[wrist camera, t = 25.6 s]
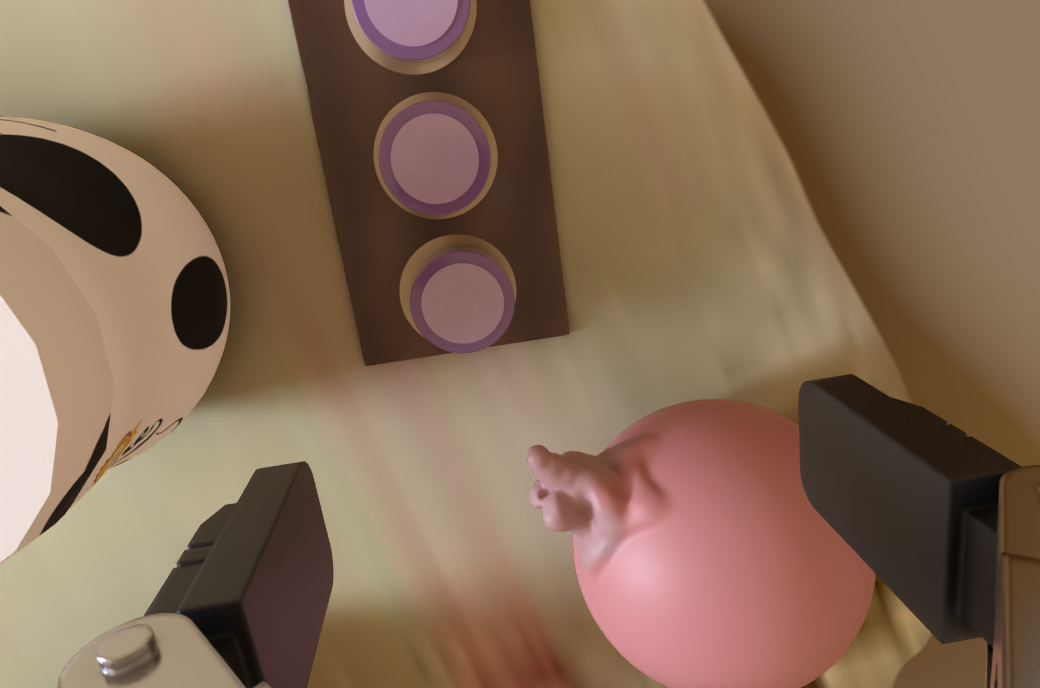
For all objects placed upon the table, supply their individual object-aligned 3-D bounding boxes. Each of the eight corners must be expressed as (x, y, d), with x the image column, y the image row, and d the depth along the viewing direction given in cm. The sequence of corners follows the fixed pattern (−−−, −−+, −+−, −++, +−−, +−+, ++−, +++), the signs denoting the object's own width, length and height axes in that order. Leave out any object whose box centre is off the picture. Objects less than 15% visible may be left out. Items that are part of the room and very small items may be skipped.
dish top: (421, 347, 42) (419, 361, 39) (404, 251, 40) (401, 260, 37) (517, 332, 42) (521, 346, 39) (504, 237, 40) (508, 244, 38)
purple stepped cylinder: (368, 71, 37) (363, 67, 35) (346, -50, 35) (338, -63, 33) (477, 56, 37) (479, 51, 35) (460, -65, 36) (460, -79, 33)
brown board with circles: (366, 364, 42) (364, 367, 42) (277, -55, 35) (274, -58, 35) (568, 332, 43) (569, 335, 42) (518, -86, 36) (519, -89, 36)
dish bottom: (393, 217, 39) (389, 223, 37) (373, 109, 38) (368, 108, 35) (495, 202, 40) (498, 207, 37) (480, 95, 38) (482, 93, 35)
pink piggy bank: (595, 270, 42) (672, 350, 27) (839, 444, 46) (1016, 592, 32) (446, 473, 45) (443, 644, 30) (690, 616, 49) (790, 825, 35)
